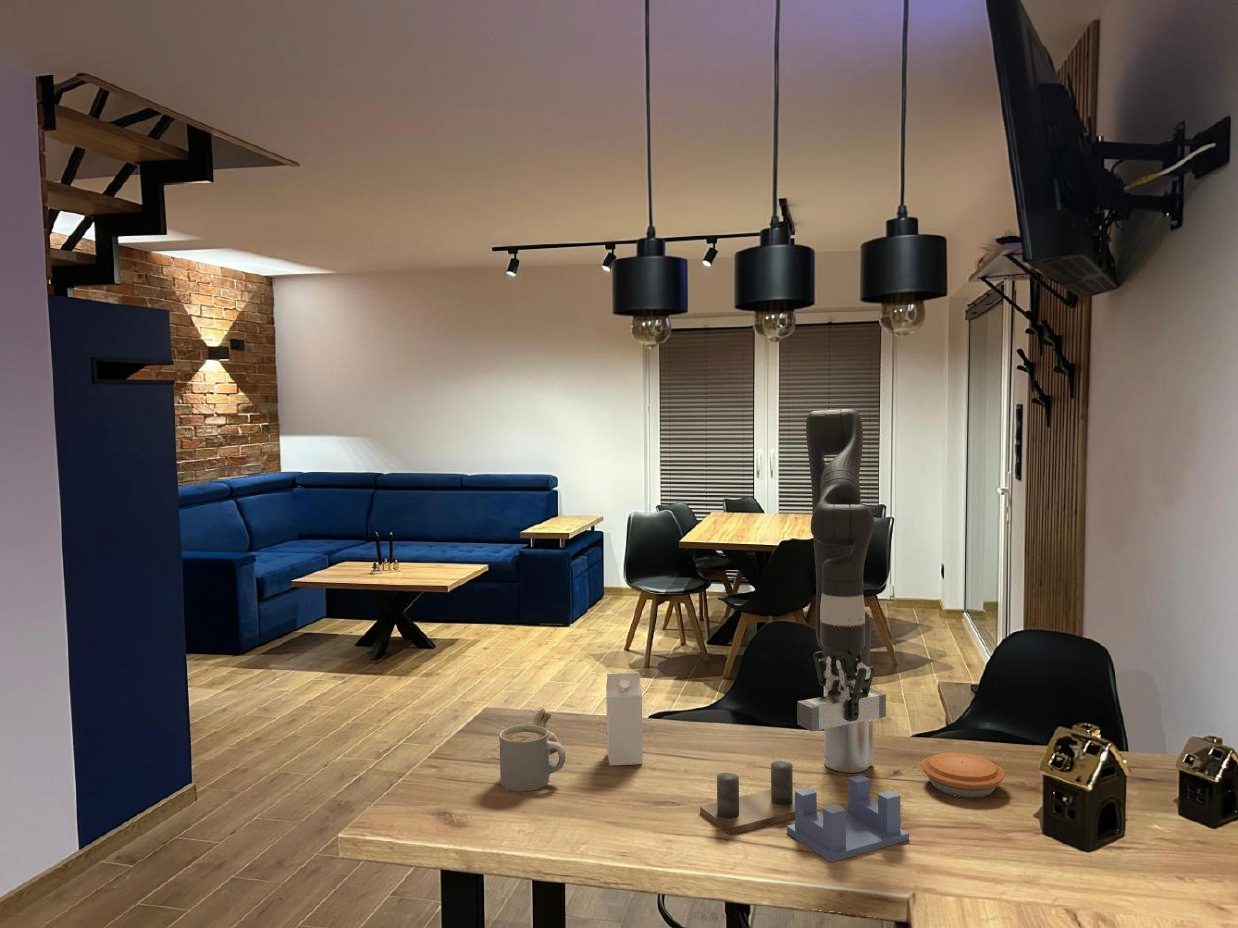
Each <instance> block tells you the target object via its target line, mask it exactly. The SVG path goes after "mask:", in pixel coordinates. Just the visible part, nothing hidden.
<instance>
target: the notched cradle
mask: <svg viewBox="0 0 1238 928" xmlns="http://www.w3.org/2000/svg"><path fill="white" fill-rule="evenodd" d="M847 779H848V780H847V781H848V782H847V783H848V788H847V789H848V790H847V791H848V797H847V798H848V799H847V800H848V802H847V803H848V809H846V808H844V807H843V806H841V805H839V804H833V805H830V806H826V807H822V814H821V813H819V812H818V811H817V807H818V806H817V804H818V801H817V794H818V793H817V792H816V791H814V790H813V789H811V788H810V787H806V788H801V789H797V790H795V791H794V797H795V818H794V823H793V824H788V825H786V833H787V834H789V836H791V837H793V838H794V839H795V840H797V841H799V842H801V844H803V845H805V846H806V847H808V848H809V849H810V850H811V851H813V852H814V853H816V854H817V855H819V856H821V857H822V858H824V859H825V860H826V861H828V862H829V863H835V862H838V861H841V860H846V859H849V858H852V857H856V856H859V855H862V854H865V853H869V852H873V851H876V850H879V849H880V850H881V849H883V848H886V847H890V846H892V845H896V844H900V843H904V842H906V841H910V833H909V832H908V831H906V830H905V829H903V828H901V823H902V822H901V813H902V812H901V795H900V794H899V793H897V792H895V791H893V790H888V791H884V792H880V793H878V794H877V801H876V800H874V799H872V798H870V795H871V794H870V793H871V791H870V789H871V788H870V787H871V786H870V785H871V783H870V782H871V781H870V778H868V777H866V776H864V775H862V774H860V775H856V776H851V777H848V778H847Z"/></svg>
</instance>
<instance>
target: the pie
mask: <svg viewBox="0 0 1238 928" xmlns="http://www.w3.org/2000/svg"><path fill="white" fill-rule="evenodd" d="M920 768H921V769H922V770H923V772H924V773H925V775H926V776H927V777H928V779H929V781H930V783H931V784H932V786H933V788H935V789H936V788H937V789H936V790H937V791H939V790H940V791H939V792H941V791H942V792H941V793H943V792H944V794H946V793H947V794H946V795H949V794H950V795H949V796H952V795H956V796H955V797H957V796H960V797H959V798H962V797H971V798H970V799H974V798H973V797H981V798H984V797H983V796H986V795H988V796H990V795H991V794H992V793H993V792H994V791H995V789H996V788H997V787H998V786H999V785H1000V783H1001V782H1002V781H1003V780H1004V779H1005V777H1006V776H1005V773H1006V772H1005V771H1004V769H1003V768H1002V767H1001V766H999V765H997V764H995V763H993V762H992V761H991V760H989V759H987V758H985V757H982V756H979V755H975V754H970V753H964V752H941V753H937V754H933V755H931V756H928V757H925V758H923V759H922V760H921V761H920ZM986 797H987V796H986Z"/></svg>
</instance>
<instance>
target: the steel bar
mask: <svg viewBox="0 0 1238 928" xmlns="http://www.w3.org/2000/svg"><path fill="white" fill-rule="evenodd" d="M861 691H862V690H861ZM851 693H852V692H851ZM886 697H887V694H885V693H883V692H881V691H879V690H875V689H873V688H871V687H870V690H869V694H868V697H867V698H862V699H859V716H858V719H857V720H856V721H850V722H849V721H847V720H846V719H845V700H846V697H845V693H842V694H837V695H830V696H825V697H824V696H821V697H814V698H808V699H802V700H798V701H796V706H797V707H796V708H797V709H796V712H797V715H796V716H797V717H796V719H797V720H796V722H797V725H798V726H800V727H802V728H804V729H806V730H808V731H810V732H816V731H820V730H824V729H827V728H832V727H837V726H842V725H847V724H852V723H857V722H862V721H867V720H872V721H873V720H876V719H880V718H881V719H883V718H886V716H887V712H886V711H887V710H886V709H887V707H886V706H887V702H886V699H887V698H886Z"/></svg>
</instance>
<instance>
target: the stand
mask: <svg viewBox="0 0 1238 928" xmlns="http://www.w3.org/2000/svg"><path fill="white" fill-rule="evenodd" d="M793 774H794V773H793V763H791V762H789V761H786V760H777V761H776V760H775V761H773V762H771V763H770V789H767V790H762V791H758V792H754V793H750V794H747V795H746V794H745V795H741V796H740V780H739V779H740V776H739V775H738V774H736V773H733V772H722V773H718V774H717V775H716V802H712V803H709V804H704V805H700V807H699V813H700V814H702V816H704V817H705V818H707V820H710V822H712V823H713V824H715V825H716V826H717V827H718V826H719V829H721V830H722V831H723V832H725V833H726V834H728V835H729V836H731V835H734V834H739V833H741V832H742V833H743V832H746V831H750V830H753V829H757V828H761V827H765V826H768V825H772V824H776V823H781V822H784V821H785V822H786V821H788V820H793V819H795V795H793V793H794V792H793V791H794V790H793V789H794V788H793V787H794V784H793V783H794V782H793V780H794V779H793Z"/></svg>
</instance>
